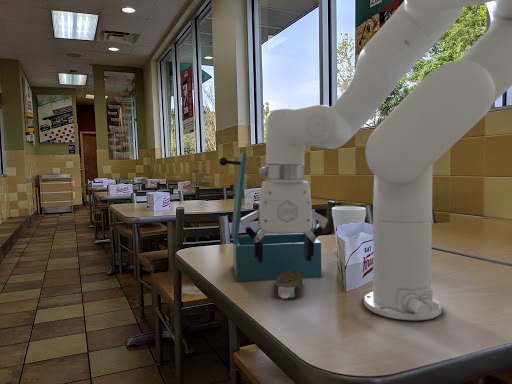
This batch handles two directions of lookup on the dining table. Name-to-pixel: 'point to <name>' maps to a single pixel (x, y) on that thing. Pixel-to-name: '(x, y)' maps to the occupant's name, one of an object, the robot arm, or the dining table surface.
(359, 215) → the foam cup
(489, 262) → the dining table surface
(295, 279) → the ice cream bar
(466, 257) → the dining table surface
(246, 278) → the chest
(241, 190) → the lid
